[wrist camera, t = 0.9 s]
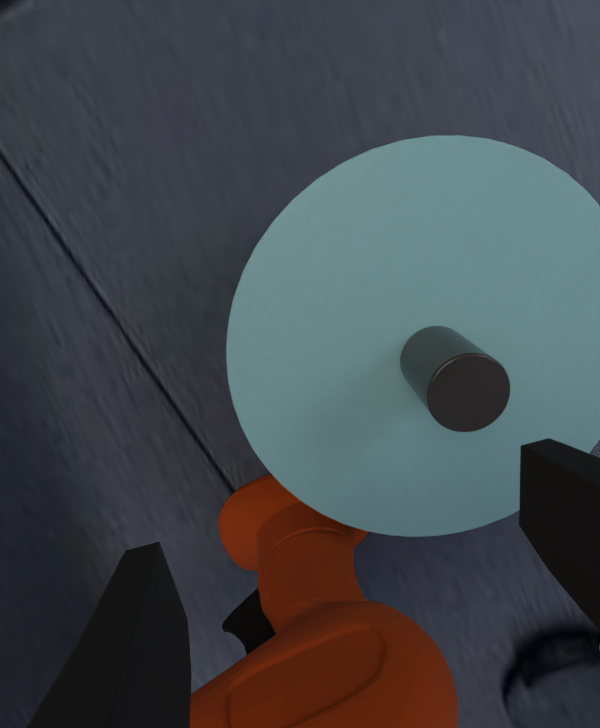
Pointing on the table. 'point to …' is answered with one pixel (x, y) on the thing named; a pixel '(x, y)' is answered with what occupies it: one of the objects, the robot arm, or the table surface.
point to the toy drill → (316, 631)
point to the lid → (420, 333)
